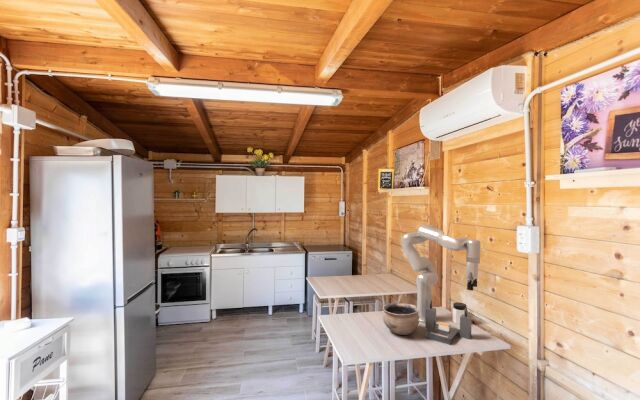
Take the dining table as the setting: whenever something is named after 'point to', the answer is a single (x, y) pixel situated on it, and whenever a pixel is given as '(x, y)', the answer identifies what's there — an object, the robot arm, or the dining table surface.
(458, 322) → the jar
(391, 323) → the ceramic bowl
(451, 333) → the breaker panel
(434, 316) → the left plug adapter
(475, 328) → the dining table surface
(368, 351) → the dining table surface
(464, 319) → the right plug adapter
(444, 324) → the block
